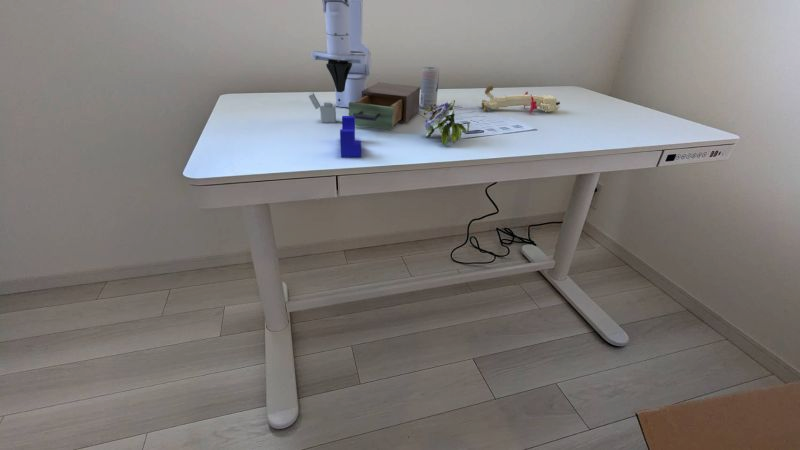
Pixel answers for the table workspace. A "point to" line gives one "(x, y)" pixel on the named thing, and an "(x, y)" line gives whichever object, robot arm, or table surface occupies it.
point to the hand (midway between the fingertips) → (340, 91)
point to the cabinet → (398, 91)
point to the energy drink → (429, 86)
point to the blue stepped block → (349, 138)
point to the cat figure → (520, 101)
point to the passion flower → (440, 118)
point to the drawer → (377, 111)
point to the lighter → (324, 110)
